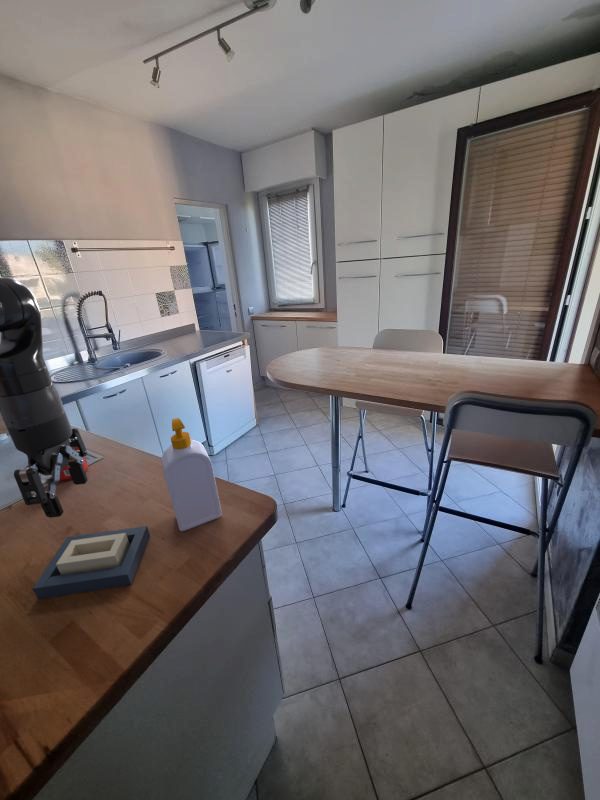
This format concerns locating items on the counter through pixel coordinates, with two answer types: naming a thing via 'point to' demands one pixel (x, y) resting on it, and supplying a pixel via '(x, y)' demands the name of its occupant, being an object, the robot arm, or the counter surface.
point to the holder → (97, 579)
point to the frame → (94, 554)
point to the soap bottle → (190, 480)
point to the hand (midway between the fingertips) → (69, 498)
